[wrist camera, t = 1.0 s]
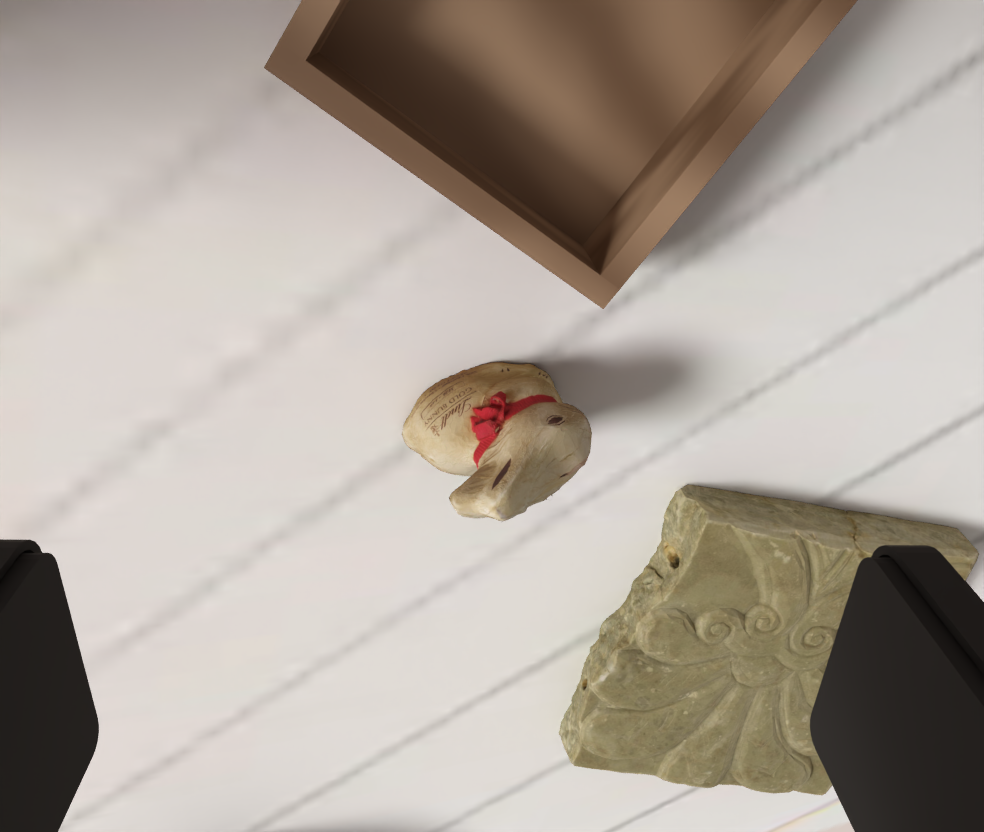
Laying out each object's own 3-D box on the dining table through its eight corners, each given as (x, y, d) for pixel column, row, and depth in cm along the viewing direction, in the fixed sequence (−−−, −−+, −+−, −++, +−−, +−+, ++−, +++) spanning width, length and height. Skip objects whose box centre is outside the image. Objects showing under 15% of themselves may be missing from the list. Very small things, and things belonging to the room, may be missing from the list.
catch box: (581, 269, 36) (603, 309, 32) (286, 55, 31) (263, 67, 27) (825, -38, 31) (890, -41, 27) (518, -351, 26) (537, -418, 22)
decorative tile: (961, 524, 46) (1000, 564, 43) (809, 762, 55) (832, 809, 52) (655, 465, 42) (673, 503, 39) (545, 729, 51) (553, 777, 48)
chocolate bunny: (554, 460, 41) (590, 589, 32) (400, 447, 40) (393, 577, 31) (575, 361, 39) (619, 473, 30) (410, 344, 38) (406, 455, 29)
